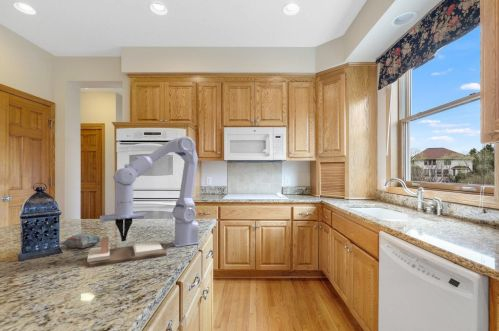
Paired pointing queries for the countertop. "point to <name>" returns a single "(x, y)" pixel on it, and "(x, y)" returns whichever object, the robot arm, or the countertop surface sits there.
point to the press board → (124, 256)
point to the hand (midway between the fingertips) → (123, 240)
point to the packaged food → (81, 241)
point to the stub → (100, 251)
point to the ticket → (147, 248)
